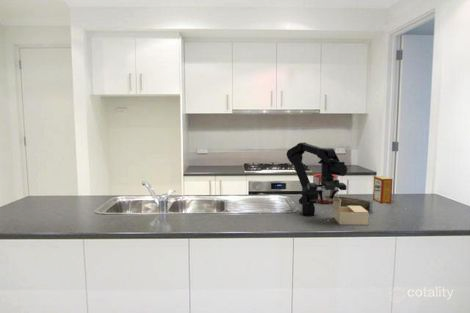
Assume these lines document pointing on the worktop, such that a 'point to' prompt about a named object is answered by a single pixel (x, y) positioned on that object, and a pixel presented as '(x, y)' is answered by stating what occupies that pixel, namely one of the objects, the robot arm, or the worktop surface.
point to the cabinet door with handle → (334, 202)
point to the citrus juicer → (325, 192)
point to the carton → (351, 215)
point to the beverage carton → (356, 203)
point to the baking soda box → (382, 189)
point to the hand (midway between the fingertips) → (326, 202)
